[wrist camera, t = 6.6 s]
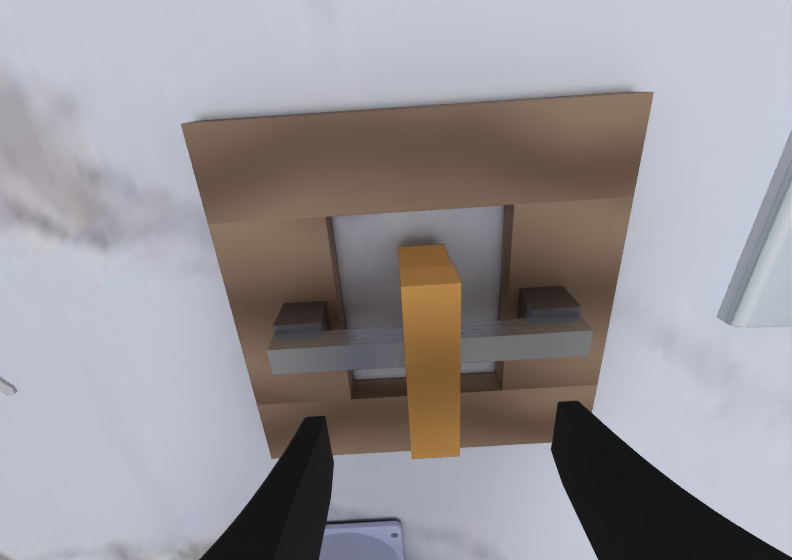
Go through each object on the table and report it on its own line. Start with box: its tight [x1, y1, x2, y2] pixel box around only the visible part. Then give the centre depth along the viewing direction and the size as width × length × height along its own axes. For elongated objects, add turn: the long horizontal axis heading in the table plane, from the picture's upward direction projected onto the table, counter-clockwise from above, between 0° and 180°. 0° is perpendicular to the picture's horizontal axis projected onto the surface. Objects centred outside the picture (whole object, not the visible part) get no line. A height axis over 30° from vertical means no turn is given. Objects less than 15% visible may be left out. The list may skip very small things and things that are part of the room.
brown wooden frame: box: [181, 92, 654, 459], centre depth 20 cm, size 18×18×2 cm
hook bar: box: [267, 286, 593, 374], centre depth 18 cm, size 2×13×3 cm, turn 93°
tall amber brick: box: [398, 244, 461, 459], centre depth 17 cm, size 8×2×4 cm, turn 3°
